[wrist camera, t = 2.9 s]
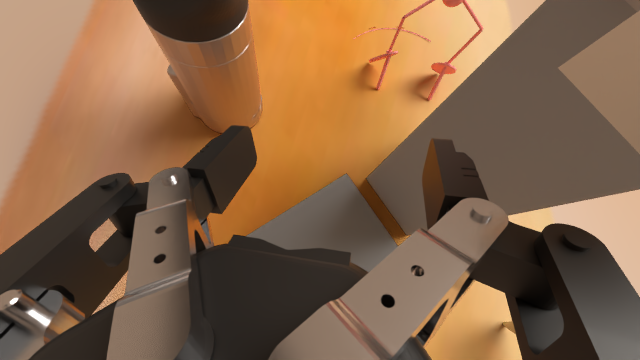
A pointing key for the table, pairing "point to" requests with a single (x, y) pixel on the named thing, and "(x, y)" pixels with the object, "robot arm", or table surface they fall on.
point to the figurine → (440, 68)
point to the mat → (332, 225)
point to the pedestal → (523, 123)
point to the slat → (612, 77)
